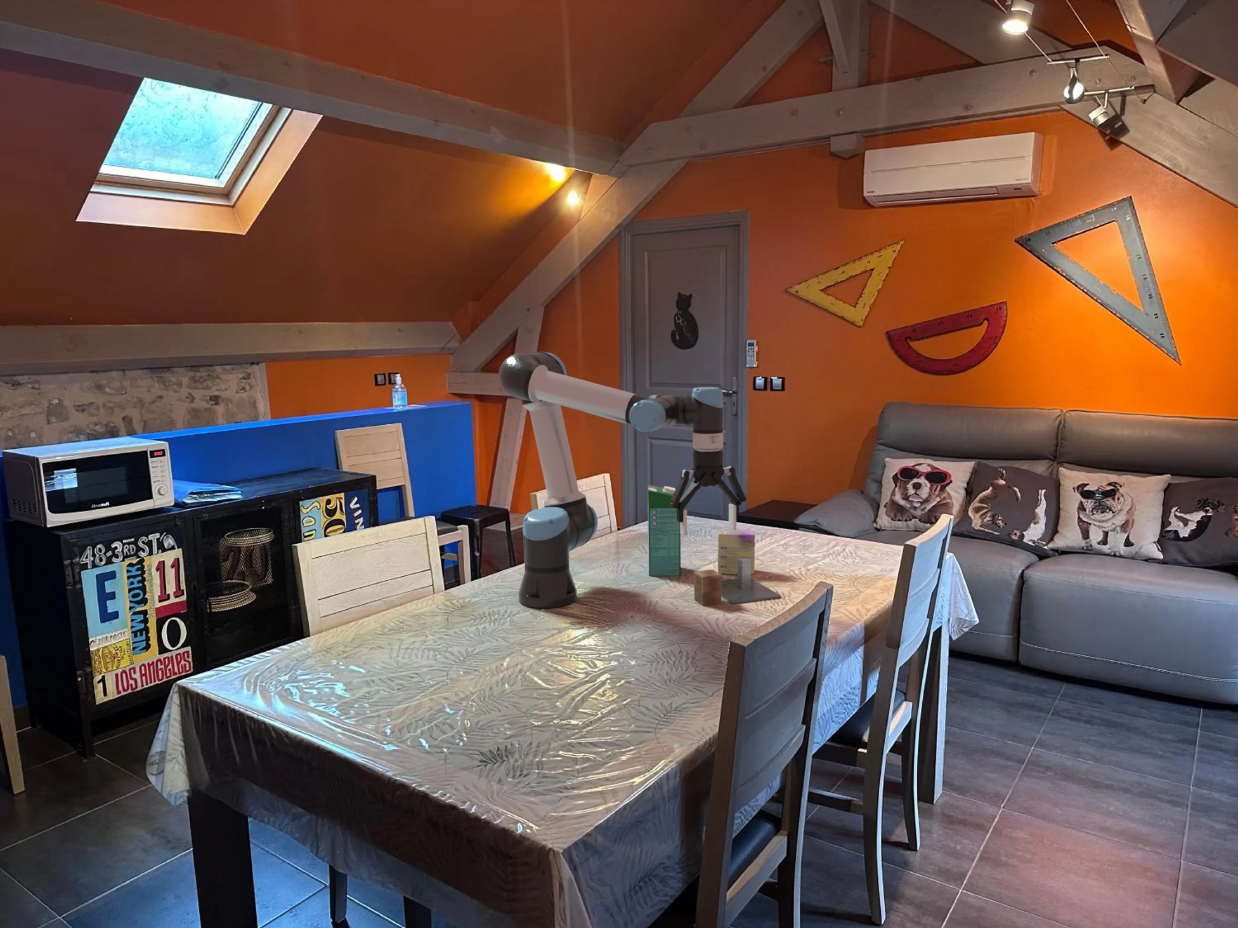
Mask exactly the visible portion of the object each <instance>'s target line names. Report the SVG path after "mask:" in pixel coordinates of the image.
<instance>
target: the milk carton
mask: <svg viewBox="0 0 1238 928" xmlns="http://www.w3.org/2000/svg"><path fill="white" fill-rule="evenodd" d="M675 490H676V487H672V486H666V485H664V486H663V487H659V486H656V485H652V484H647V523H648V524H647V536H648V539H647V541H648V543H647V546H648V547H647V549H648V551H647V552H648V553H647V554H648V555H647V556H648V557H647V558H648V575H649V577H655V576H657V577H661V576H663V577H664V576H665V577H667V576H668V577H670V576H671V577H673V576H677V577H678V576H681V575H682V572H681V571H682V568H681V564H682V563H681V560H682V558H681V553H682V552H681V550H682V549H681V544H682V543H681V535H682V534H680V522H678V521H677V509H676V508H673V507H671V506H670V505H669V503H670V501H671V499H672V496H673V494H674V492H675Z"/></svg>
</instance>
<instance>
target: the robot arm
mask: <svg viewBox="0 0 1238 928" xmlns="http://www.w3.org/2000/svg"><path fill="white" fill-rule="evenodd" d="M498 380H499V383H500V386H501V388H502V389H503V390H504V392H505V393H506V394H508V395H509V396H511V397H513V398H517V399H520V400H521V405H522V407H523V408H525V409H526V410H527V411H529V415H530V420H531V425H532V429H533V434H534V438H535V443H536V448H537V452H538V457H539V462H540V466H541V471H542V477H543V481H544V485H545V490H546V494H547V498H546V500H545V501H544V504H543V505H544V506H543V507H541V508H536V509H533V510H531V511H529V512H527V514H526V515H525V516H524V518H523V525H522V534H523V536H522V537H523V558H524V559H523V560H524V573H523V577H522V580H521V583H520V588H519V590H518V602H519V603H520V604H521V605H523V606H524V607H525V606H526V607H529V608H537V609H552V608H553V609H554V608H559V607H564V606H569V605H571V604H574V603H575V602H576V601H577V599H578V594H577V591H578V590H577V587H576V585H575V582H574V579H573V575H572V573H571V570H570V552H571V551H573V550H576V549H577V548H579V547H582V546H584V545H586V544H587V543H588V542H589V541H590V540H591V539H592V538H593V537H594V536H595V534H596V532H597V529H598V524H599V521H598V516H597V512H596V511H595V509H594V508H593V507H592V506H591V505H590V504H589V503H588V500H587V497H586V494H584V493H583V492H581V491H580V490H579V486H578V481H577V480H578V479H577V476H576V472H575V467H574V463H573V457H572V452H571V448H570V443H569V439H568V434H567V429H566V425H565V420H564V417H563V416H564V415H563V411H562V407H566V408H569V409H573V410H576V411H580V412H584V413H586V414H590V415H595V416H597V417H601V418H606V419H609V420H613V421H614V422H615V421H616V422H620V423H623V424H626V425H630V426H633V428H634V429H635V430H637V431H639V432H641V433H651V432H655V431H658V430H659V429H662V428H667V427H668V426H692V447H693V448H694V450H693V451H692V465H693V467H692V469H691V470H689V469H688V470H687V469H683V468H682V469H681V471H680V479H679V481H678V483H677V485H676V487H675V489H676V490H675V492H674V494H673V496H672V499H671V501H670V503H669V505H670V506H671V507H673V508H676V509H677V521H678V522H680V534H681V535H682V536H684V537H686V536H688V510H687V509H685V508H686V507H687V505H688V503H689V502H690V501H691V499H692V498H694V496H695V494H696V493H697V491H699V490H700V489H701V487H704V488H706V487H707V488H708V487H709V486H710V487H716V486H718V488H719V489H720V490H721V492H723V494H724V495H725V496H726V497H727V498H728V500H729V501H730V502H731V503H728V529H729V530H733V531H736V530H737V518H739V515H740V506H742V504H743V503H744V502H746V501H747V497H746V495H745V493H744V492H743V489H742V487H741V485H740V482H739V479H738V478H737V477H736V471H735V470H736V469H735V467H734V466H732V465H731V466H730V465H727V466H726V467H723V465H724V451H723V450H722V449H723V447H724V398H723V390H722V389H721V388H720V387H716V386H715V387H714V386H699V387H694V388H693V389H692V393H691V394H689V395H688V394H687V395H686V394H685V395H683V394H682V395H681V394H680V395H679V394H665V393H663V394H652V395H649V397H648V396H644V395H639V394H636V393H633V392H629V391H626V390H621V389H618V388H613V387H610V386H606V385H603V384H598V383H595V382H591V381H588V380H584V379H580V378H576V377H573V376H570V375H567V369H566V367H565V364H564V363H563V361H562V360H561V359H560V358H559V357H558V356H557V355H556V354H553V353H551V352H545V351H534V352H520V353H514V354H512V355H510V356H508V357H507V358H506V359H504V361H503V362H502V364H501V365H500V367H499V371H498ZM724 474H725V476H727V479H728V482H729V483H730V485H731V487H732V489H733V490H731V489H730V488H729V487H728V485H727V484H726V482H725V481H724V479H722V477H723V476H724ZM691 477H693V480H692V481H691V483H690V484H689V486H688V483H689V480H690V479H691ZM687 486H688V488H687V490H686V487H687ZM685 490H686V491H685ZM684 491H685V492H684ZM733 491H734V493H733Z"/></svg>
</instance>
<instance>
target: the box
mask: <svg viewBox="0 0 1238 928" xmlns="http://www.w3.org/2000/svg"><path fill="white" fill-rule="evenodd" d="M755 540H756V535H755V531H754V530H747V529H746V530H742V529H740V530H737V529H736V531H733V530H731V529H729V530H728V529H718V533H717V572H718V573H719V574H721V575H723V574H725V575H728V574H729V575H738V559H740V558H748V559H750V560H751V576H752V575H755V559H756V558H755V553H756V552H755V550H756V548H755V547H756V546H755V545H756V544H755V543H756V541H755Z"/></svg>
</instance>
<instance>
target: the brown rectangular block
mask: <svg viewBox="0 0 1238 928" xmlns="http://www.w3.org/2000/svg"><path fill="white" fill-rule="evenodd" d="M693 573H694V576H693V577H694V583H693V584H694V586H693V587H694V588H693V589H694V593H693V595H694V597H693V598H694V601H696V603H698V604H699V605H701V606H702V607H704V606H713V605H714V606H715V605H721V604H722V597H721V580H722V574H719V573H718V571H716V570H714V569H705V570H696V571H694V572H693Z"/></svg>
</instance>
